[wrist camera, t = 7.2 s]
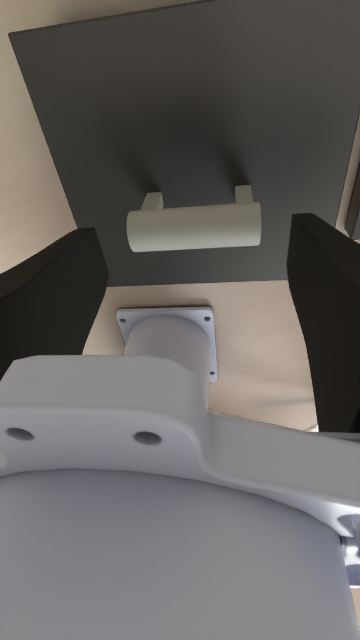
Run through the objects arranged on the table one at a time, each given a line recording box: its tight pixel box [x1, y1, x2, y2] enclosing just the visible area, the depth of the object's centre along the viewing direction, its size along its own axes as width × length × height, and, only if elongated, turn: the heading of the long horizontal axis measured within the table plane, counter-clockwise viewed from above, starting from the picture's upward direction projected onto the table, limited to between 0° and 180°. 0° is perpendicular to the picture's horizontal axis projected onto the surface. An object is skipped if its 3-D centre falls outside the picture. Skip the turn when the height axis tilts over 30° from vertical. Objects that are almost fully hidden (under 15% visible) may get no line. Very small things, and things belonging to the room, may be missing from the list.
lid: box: [8, 0, 360, 287], centre depth 14 cm, size 11×13×4 cm
